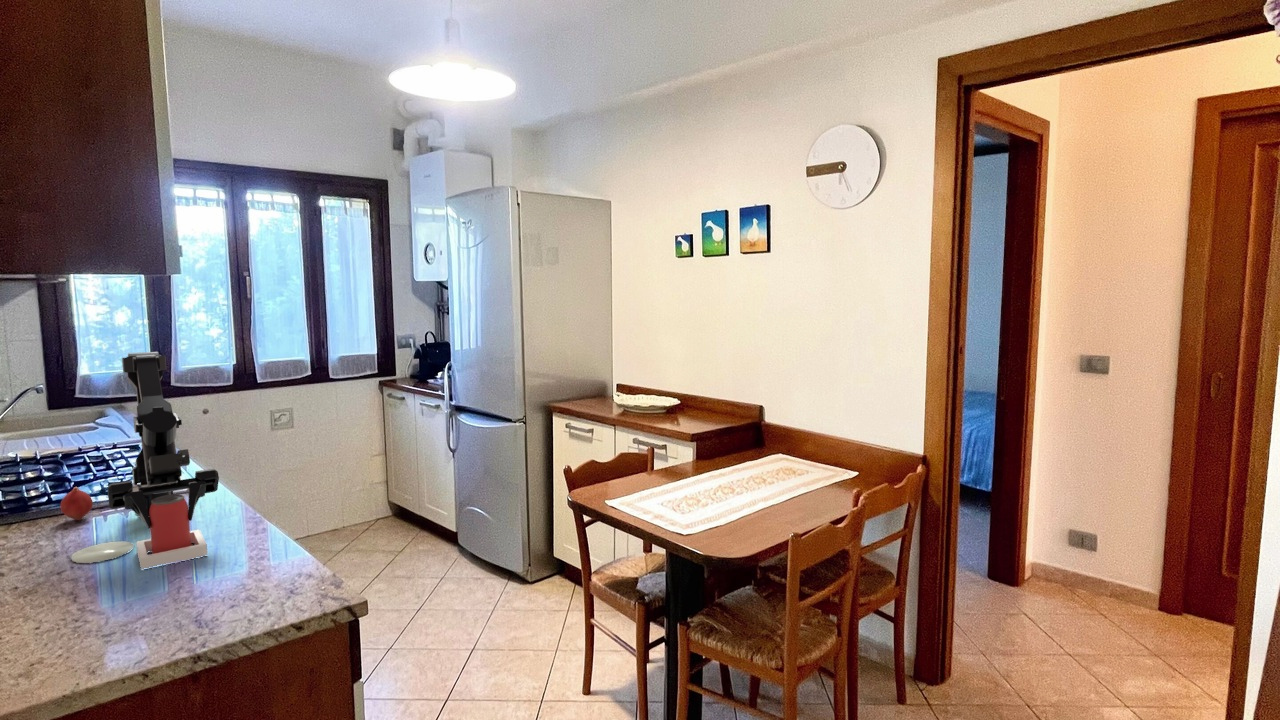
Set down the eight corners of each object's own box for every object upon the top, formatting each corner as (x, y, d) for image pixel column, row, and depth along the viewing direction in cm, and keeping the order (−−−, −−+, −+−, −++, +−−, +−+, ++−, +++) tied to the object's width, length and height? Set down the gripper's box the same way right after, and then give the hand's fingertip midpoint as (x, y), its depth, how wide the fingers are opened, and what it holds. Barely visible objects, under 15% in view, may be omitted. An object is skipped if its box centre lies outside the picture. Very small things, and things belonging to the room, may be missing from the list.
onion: (56, 522, 156) (52, 488, 155) (84, 514, 162) (81, 482, 161) (71, 525, 154) (68, 492, 153) (99, 517, 160) (96, 485, 159)
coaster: (111, 541, 145) (110, 539, 145) (145, 547, 142) (144, 544, 142) (59, 559, 136) (59, 557, 136) (94, 566, 133) (94, 563, 133)
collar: (137, 553, 139) (136, 541, 139) (200, 540, 146) (199, 529, 146) (141, 570, 131) (140, 558, 130) (207, 556, 138) (206, 544, 138)
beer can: (198, 551, 140) (194, 496, 139) (165, 563, 134) (160, 505, 133) (179, 546, 143) (174, 491, 141) (145, 557, 137) (140, 500, 135)
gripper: (103, 444, 133) (110, 513, 126) (214, 431, 145) (226, 494, 138) (106, 474, 140) (112, 541, 133) (211, 460, 152) (222, 520, 144)
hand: (170, 523), depth 137 cm, fingers closed on beer can, 6 cm apart
